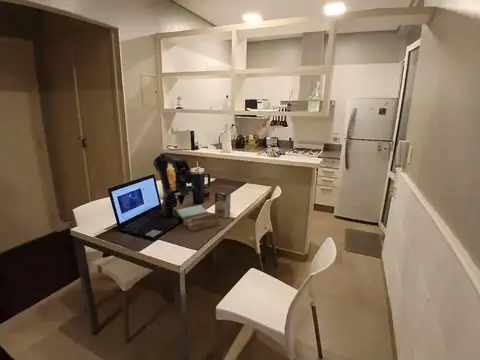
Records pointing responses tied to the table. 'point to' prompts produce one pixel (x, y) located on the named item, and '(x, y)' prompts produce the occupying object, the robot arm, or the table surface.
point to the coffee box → (222, 203)
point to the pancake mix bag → (171, 177)
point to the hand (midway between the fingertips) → (181, 204)
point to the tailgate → (191, 211)
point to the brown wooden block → (201, 221)
